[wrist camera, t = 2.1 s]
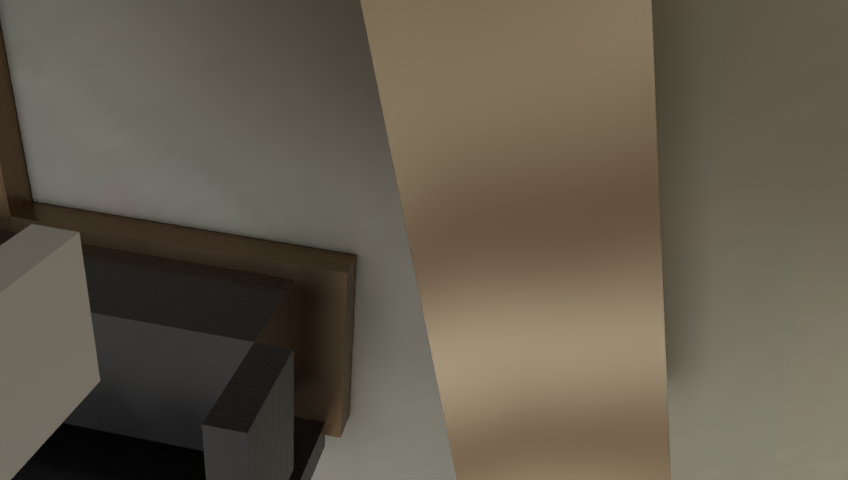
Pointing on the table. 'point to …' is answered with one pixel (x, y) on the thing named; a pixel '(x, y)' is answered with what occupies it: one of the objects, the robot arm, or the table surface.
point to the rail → (533, 227)
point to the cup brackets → (193, 344)
